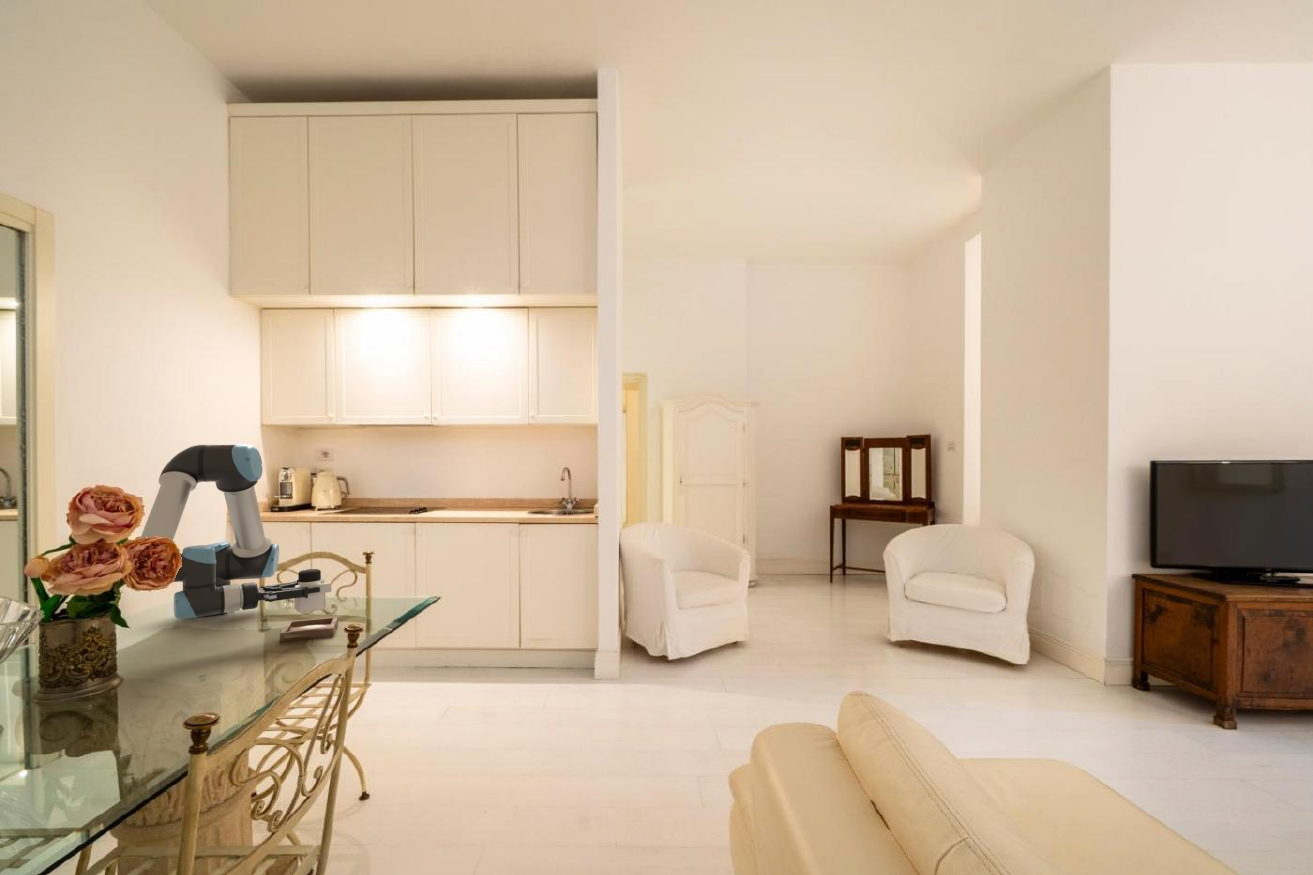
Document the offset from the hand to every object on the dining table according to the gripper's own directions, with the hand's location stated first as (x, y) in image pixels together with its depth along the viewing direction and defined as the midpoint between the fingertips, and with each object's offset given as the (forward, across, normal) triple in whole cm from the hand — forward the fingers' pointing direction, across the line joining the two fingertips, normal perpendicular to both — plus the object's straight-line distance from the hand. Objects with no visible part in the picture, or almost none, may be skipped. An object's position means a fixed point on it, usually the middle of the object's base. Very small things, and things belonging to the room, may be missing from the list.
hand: (327, 585), depth 203 cm
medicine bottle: (-5, 0, -7) cm, 8 cm away
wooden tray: (-5, 0, -14) cm, 15 cm away
